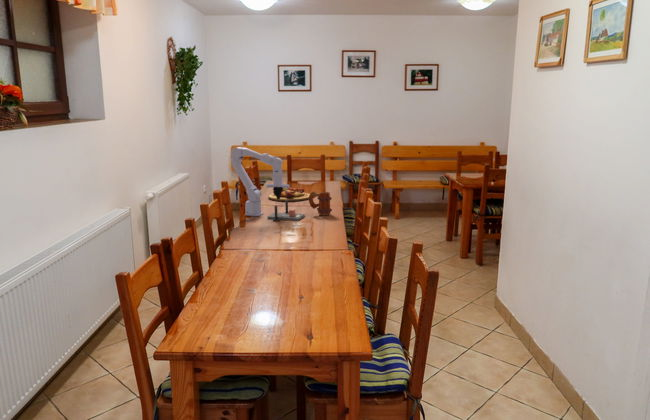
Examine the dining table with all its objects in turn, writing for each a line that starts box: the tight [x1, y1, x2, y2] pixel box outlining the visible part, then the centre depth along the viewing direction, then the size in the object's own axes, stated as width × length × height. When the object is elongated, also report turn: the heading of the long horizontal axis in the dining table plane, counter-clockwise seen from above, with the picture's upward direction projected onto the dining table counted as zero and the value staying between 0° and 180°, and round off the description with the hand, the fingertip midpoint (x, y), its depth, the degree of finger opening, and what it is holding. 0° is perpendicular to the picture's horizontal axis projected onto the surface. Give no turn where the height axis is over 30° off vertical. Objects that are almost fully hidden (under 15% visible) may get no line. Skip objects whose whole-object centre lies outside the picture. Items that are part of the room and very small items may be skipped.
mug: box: [308, 190, 333, 216], centre depth 319 cm, size 15×8×15 cm, turn 84°
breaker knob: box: [288, 208, 296, 216], centre depth 312 cm, size 3×3×4 cm
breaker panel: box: [266, 212, 306, 222], centre depth 314 cm, size 20×12×2 cm, turn 73°
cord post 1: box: [272, 205, 280, 223], centre depth 305 cm, size 4×4×9 cm
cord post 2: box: [283, 200, 289, 213], centre depth 322 cm, size 4×4×9 cm
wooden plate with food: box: [268, 186, 310, 202], centre depth 377 cm, size 32×32×8 cm
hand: (278, 199), depth 318 cm, fingers closed
